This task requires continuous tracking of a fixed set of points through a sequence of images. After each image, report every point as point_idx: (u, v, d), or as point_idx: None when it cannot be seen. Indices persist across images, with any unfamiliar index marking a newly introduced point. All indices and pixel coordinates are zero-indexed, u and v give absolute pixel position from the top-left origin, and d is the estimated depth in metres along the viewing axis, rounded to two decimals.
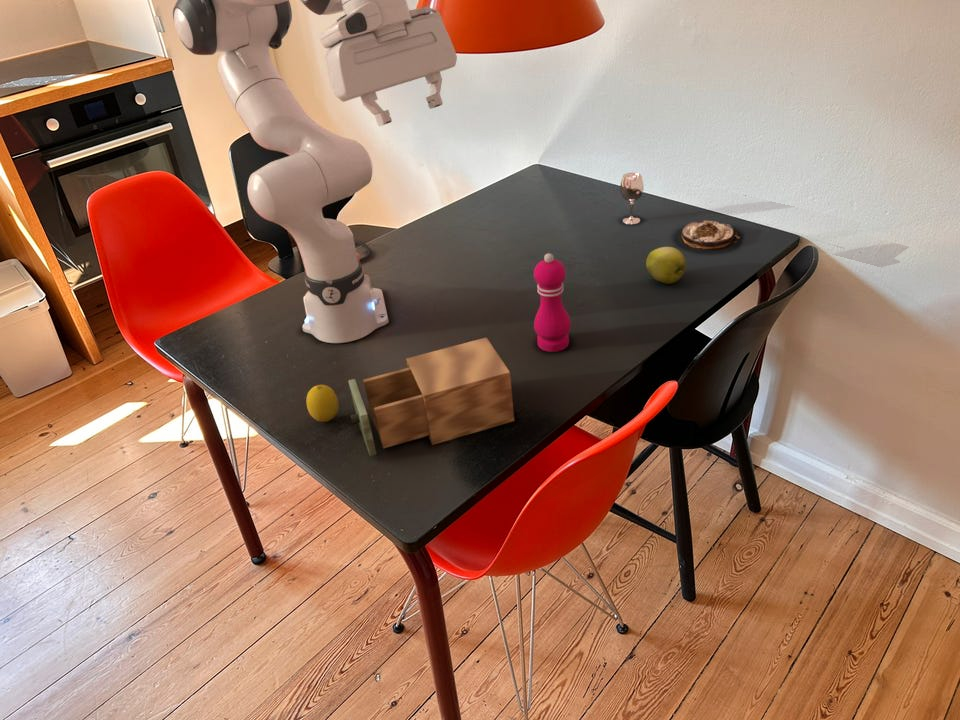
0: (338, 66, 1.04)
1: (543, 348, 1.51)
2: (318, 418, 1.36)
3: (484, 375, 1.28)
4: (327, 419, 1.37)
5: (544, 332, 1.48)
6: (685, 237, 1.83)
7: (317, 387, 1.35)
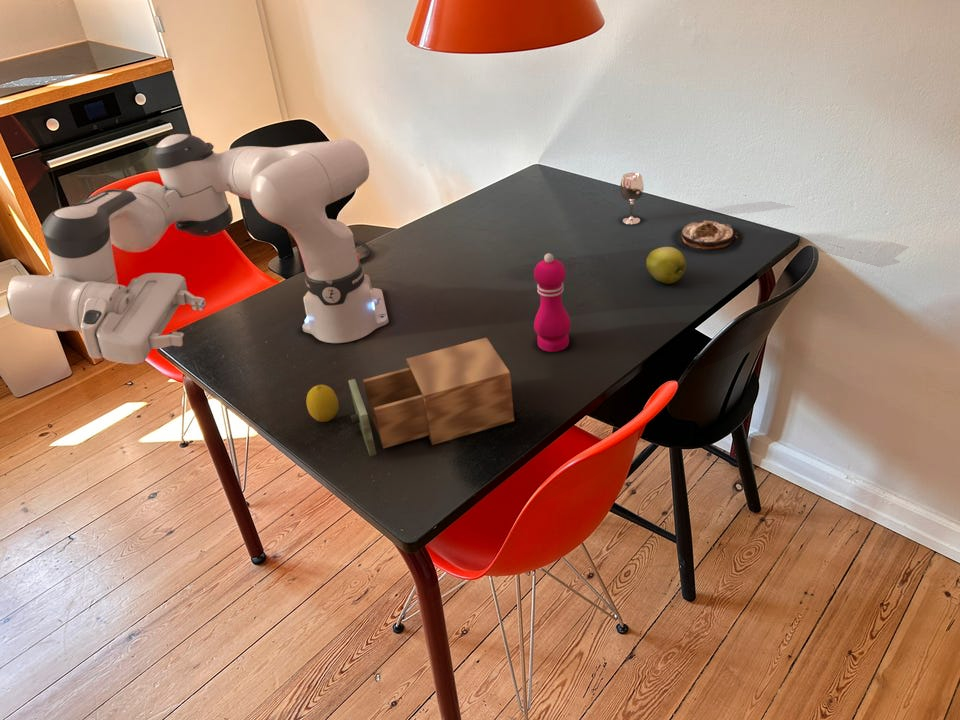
0: (110, 343, 1.17)
1: (543, 348, 1.51)
2: (318, 418, 1.36)
3: (484, 375, 1.28)
4: (327, 419, 1.37)
5: (544, 332, 1.48)
6: (685, 237, 1.83)
7: (317, 387, 1.35)
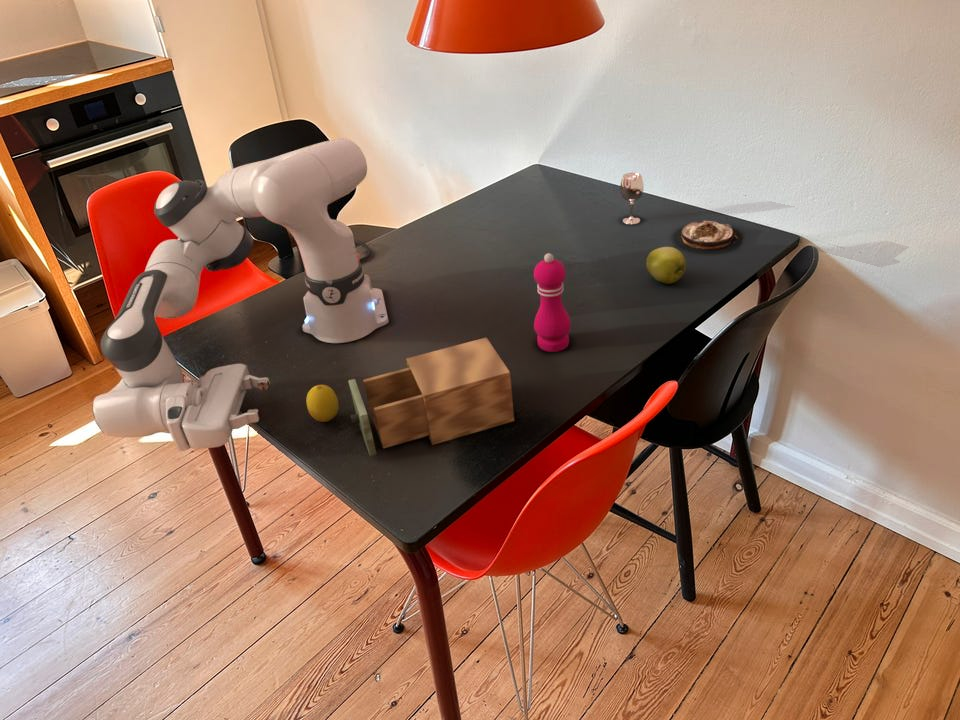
0: (196, 431, 1.28)
1: (543, 348, 1.51)
2: (318, 418, 1.36)
3: (484, 375, 1.28)
4: (327, 419, 1.37)
5: (544, 332, 1.48)
6: (685, 237, 1.83)
7: (317, 387, 1.35)
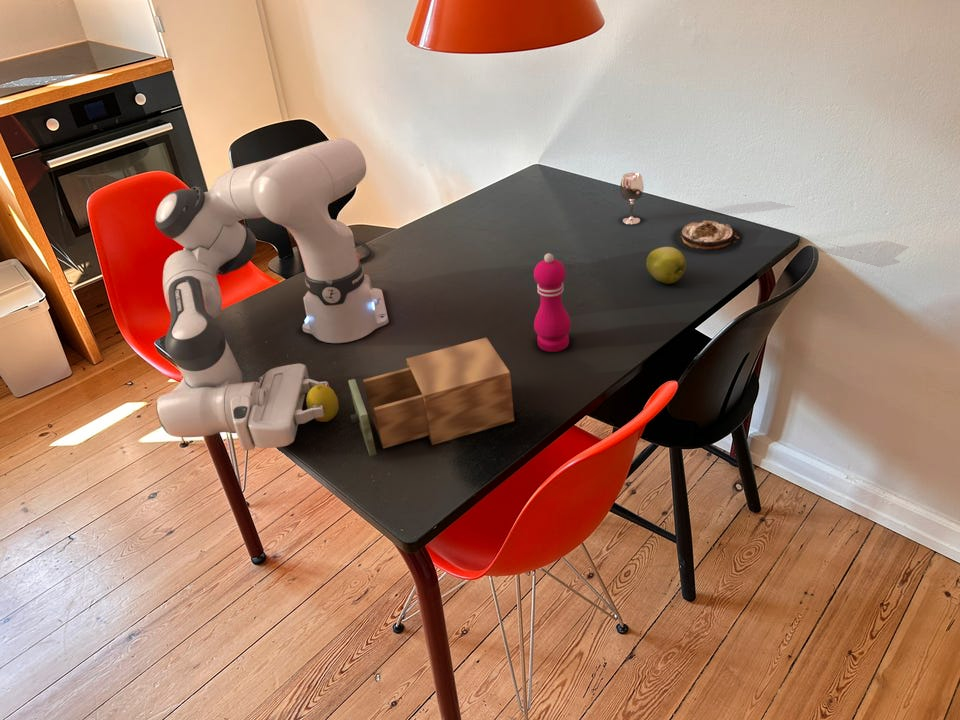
0: (263, 431, 1.28)
1: (543, 348, 1.51)
2: (318, 418, 1.36)
3: (484, 375, 1.28)
4: (327, 419, 1.37)
5: (544, 332, 1.48)
6: (684, 237, 1.83)
7: (317, 387, 1.35)
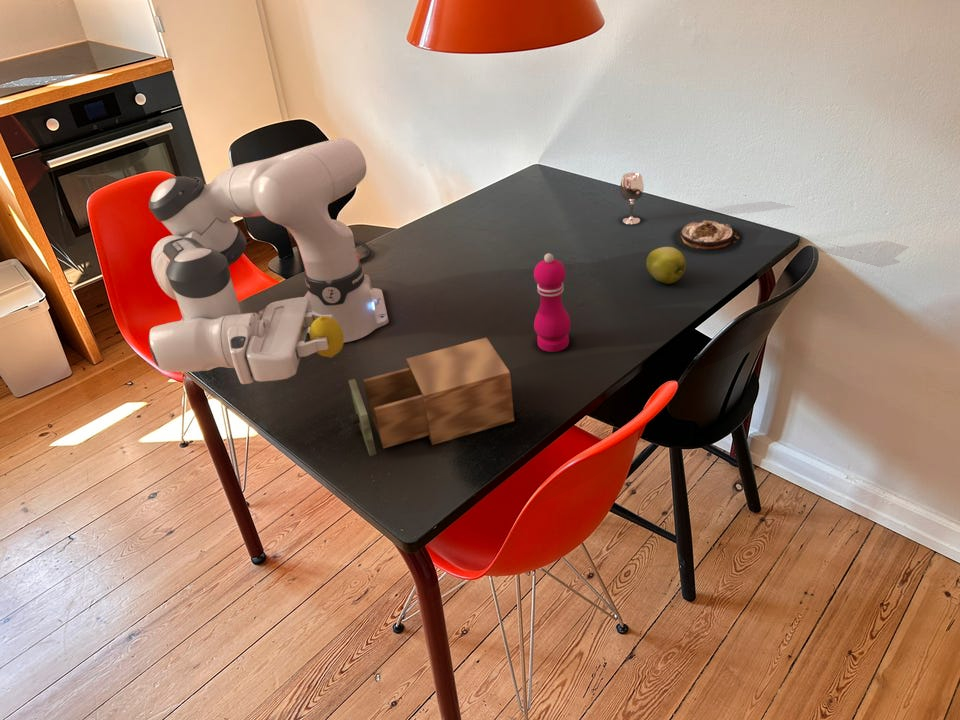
0: (262, 361, 1.18)
1: (543, 348, 1.51)
2: (322, 352, 1.26)
3: (484, 375, 1.28)
4: (331, 353, 1.27)
5: (544, 332, 1.48)
6: (684, 237, 1.83)
7: (321, 318, 1.25)
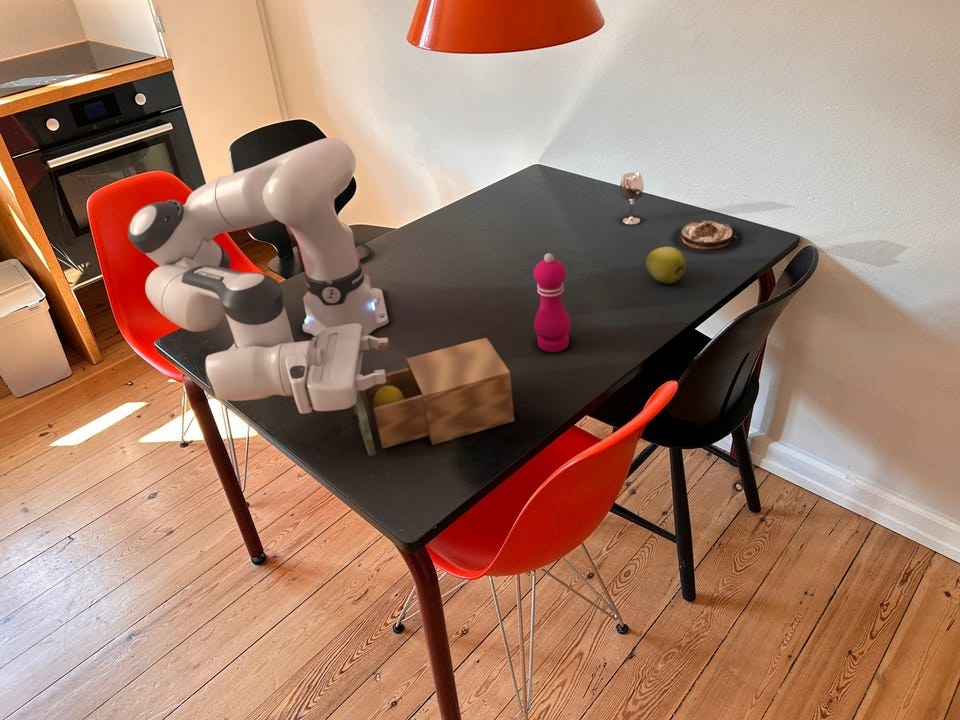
0: (324, 391, 1.18)
1: (543, 348, 1.51)
2: None
3: (484, 375, 1.28)
4: None
5: (544, 332, 1.48)
6: (684, 237, 1.83)
7: (385, 389, 1.29)
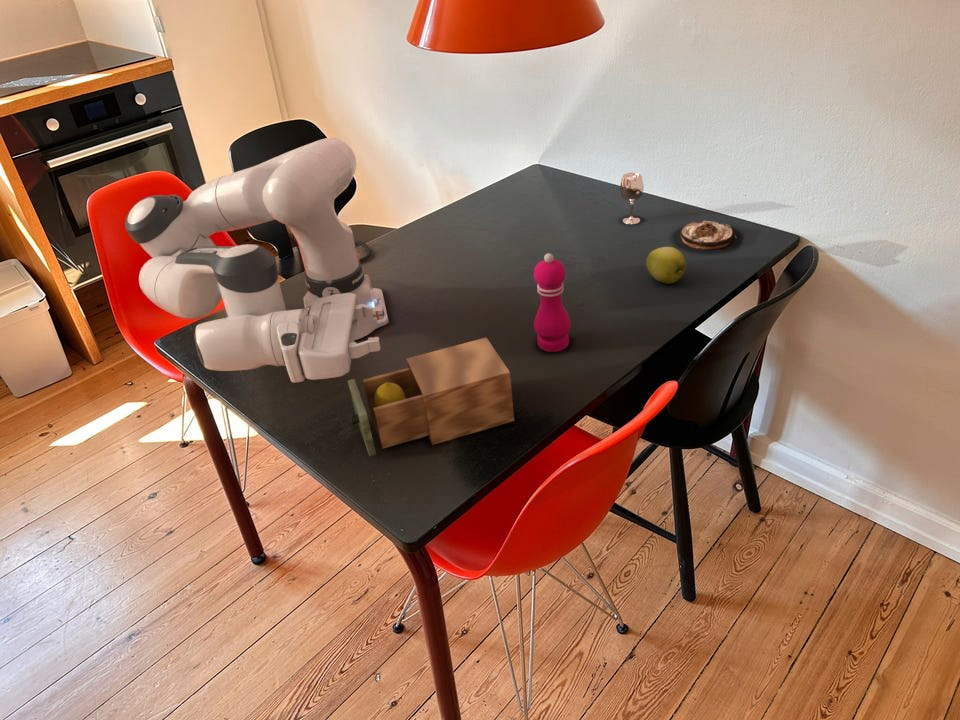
0: (316, 358, 1.14)
1: (543, 348, 1.51)
2: None
3: (484, 375, 1.28)
4: None
5: (544, 332, 1.48)
6: (684, 237, 1.83)
7: (386, 384, 1.30)
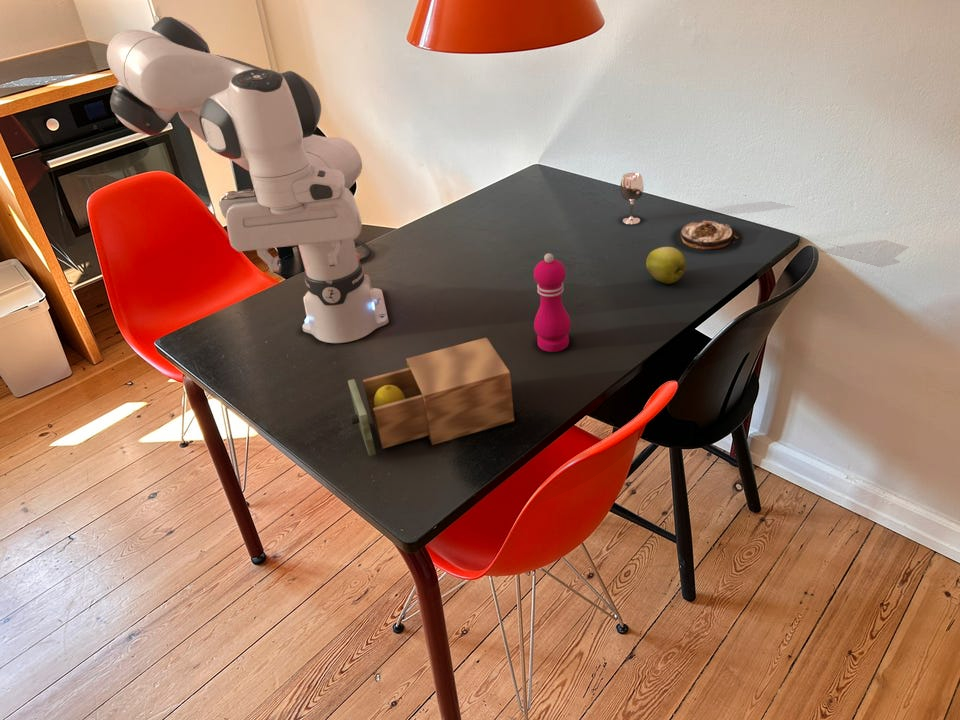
0: None
1: (543, 348, 1.51)
2: None
3: (484, 375, 1.28)
4: None
5: (544, 332, 1.48)
6: (684, 237, 1.83)
7: (386, 387, 1.30)
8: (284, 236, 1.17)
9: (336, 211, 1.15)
